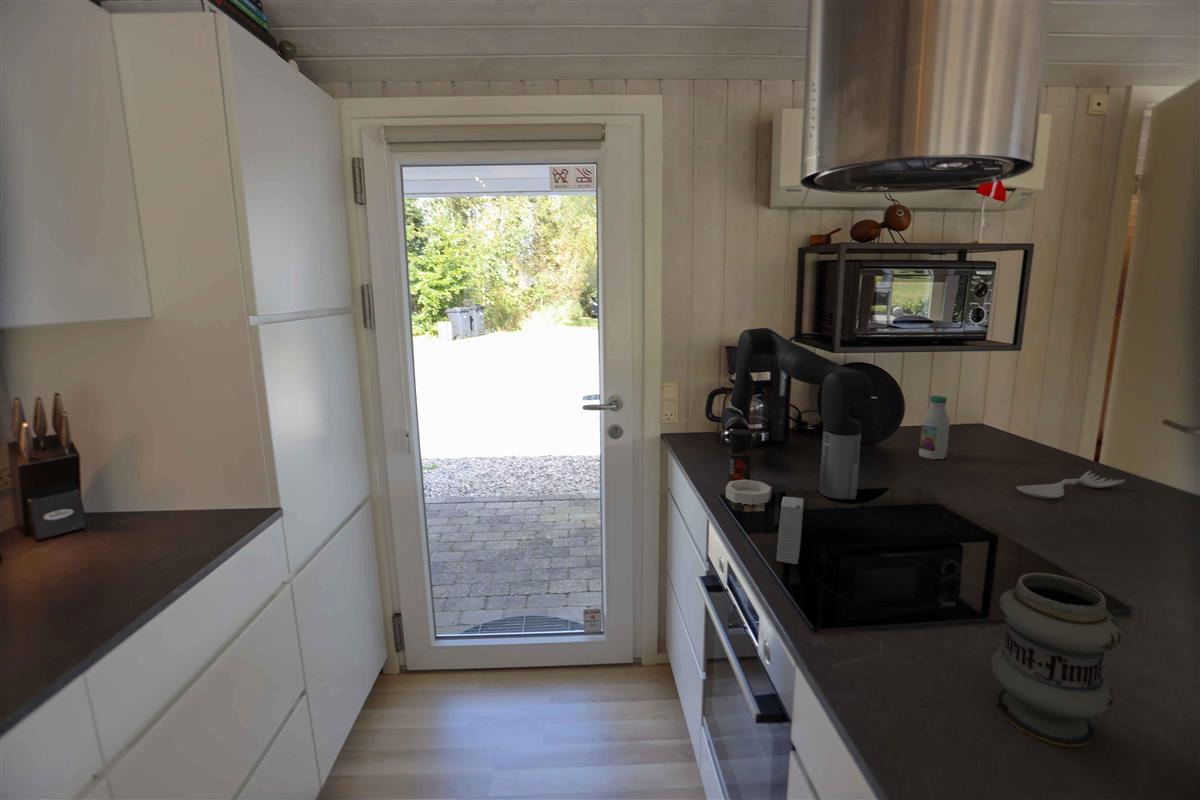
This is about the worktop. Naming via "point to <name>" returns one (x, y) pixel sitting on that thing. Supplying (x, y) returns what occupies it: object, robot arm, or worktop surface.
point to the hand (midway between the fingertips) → (738, 442)
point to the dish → (748, 492)
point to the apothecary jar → (1054, 658)
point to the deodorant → (740, 454)
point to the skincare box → (790, 530)
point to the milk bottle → (935, 430)
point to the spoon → (1057, 488)
